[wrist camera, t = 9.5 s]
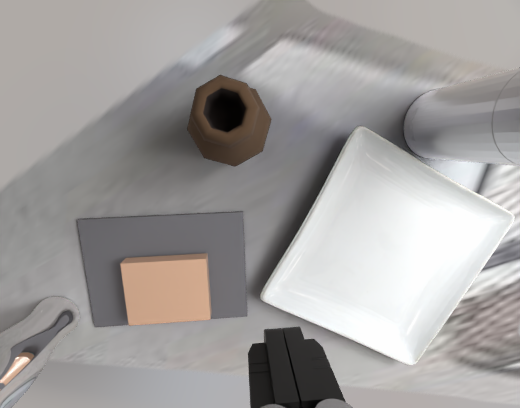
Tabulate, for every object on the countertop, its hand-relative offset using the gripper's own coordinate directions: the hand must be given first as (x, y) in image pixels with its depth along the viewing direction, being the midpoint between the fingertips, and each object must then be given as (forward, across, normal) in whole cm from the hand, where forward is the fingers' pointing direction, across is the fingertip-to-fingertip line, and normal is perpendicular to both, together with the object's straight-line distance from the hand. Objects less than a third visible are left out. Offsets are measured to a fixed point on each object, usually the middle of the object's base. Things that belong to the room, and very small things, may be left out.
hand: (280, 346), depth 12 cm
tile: (+27, +6, +11) cm, 30 cm away
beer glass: (+29, +28, +15) cm, 43 cm away
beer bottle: (+29, +2, -10) cm, 31 cm away
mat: (+29, +12, +9) cm, 33 cm away
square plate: (+30, -19, +8) cm, 36 cm away
